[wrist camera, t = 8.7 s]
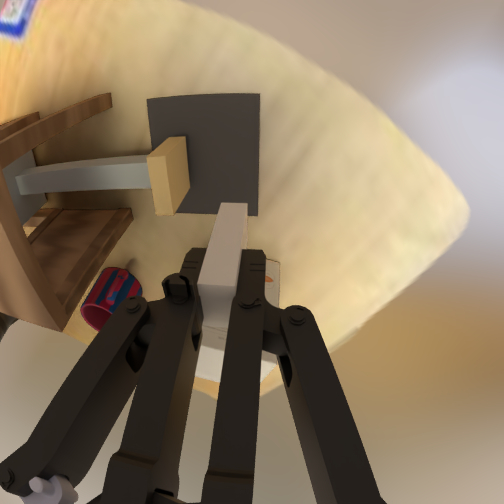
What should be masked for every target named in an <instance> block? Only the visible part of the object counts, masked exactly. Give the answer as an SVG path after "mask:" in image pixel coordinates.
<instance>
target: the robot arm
mask: <svg viewBox="0 0 504 504" xmlns="http://www.w3.org/2000/svg"><path fill="white" fill-rule="evenodd" d="M247 242H248V232H247V203H221V205H220V208H219V211H218V214H217V218H216V221H215V224H214V227H213V231H212V234H211V237H210V241H209V244H208V247H207V248H192V249H191V250H190V251H189V252H188V253H187V254H186V256H185V259H184V262H183V264H182V268H181V270H180V272H179V273H174V274H172V275H169V276H167V277H166V278H165V279H164V280H163V281H162V286H163V290H164V294H165V298H163V299H160V300H156V301H150V302H147V301H146V299H145V298H143V297H142V296H137V295H134V296H130V297H128V298H126V299H124V300H123V301H122V302H121V303H120V305H119V306H118V307H117V309H116V310H115V311H114V312H113V314H112V315H111V316H110V318H109V319H108V320H107V322H106V323H105V324H104V326H103V327H102V328H101V330H100V331H99V333H98V334H97V335H96V337H95V338H94V339H93V341H92V342H91V344H90V345H89V346H88V348H87V349H86V351H85V352H84V354H83V355H82V356H81V358H80V359H79V361H78V362H77V363H76V365H75V366H74V368H73V370H72V371H71V372H70V374H69V375H68V377H67V378H66V380H65V381H64V383H63V384H62V386H61V387H60V389H59V390H58V392H57V393H56V395H55V396H54V398H53V400H52V401H51V403H50V404H49V406H48V407H47V409H46V411H45V412H44V414H43V416H42V417H41V419H40V420H39V422H38V424H37V425H36V427H35V429H34V431H33V432H32V434H31V436H30V437H29V439H28V441H27V442H26V443H25V444H23V445H22V446H21V447H20V448H19V449H17V450H16V451H15V452H14V453H13V454H11V455H10V456H9V457H7V458H6V459H5V460H4V461H2V462H1V463H0V485H1V487H2V488H3V489H4V490H5V491H7V492H9V493H12V494H15V495H18V496H20V497H21V499H22V500H23V502H24V504H74V502H76V501H77V500H78V494H77V492H76V491H75V490H74V488H75V487H76V486H77V485H78V484H79V483H80V482H81V481H82V479H83V478H84V477H85V476H86V474H87V472H88V471H89V469H90V468H91V466H92V463H93V462H94V460H95V458H96V456H97V455H98V453H99V451H100V449H101V447H102V445H103V444H104V442H105V440H106V438H107V436H108V435H109V433H110V431H111V429H112V427H113V426H114V424H115V422H116V420H117V419H118V417H119V415H120V413H121V411H122V410H123V408H124V406H125V404H126V403H127V401H128V399H129V397H130V396H131V394H132V392H133V390H134V389H135V387H136V390H135V393H134V397H133V400H132V404H131V408H130V412H129V415H128V419H127V423H126V426H125V430H124V434H123V438H122V442H121V446H120V449H119V450H118V451H117V452H116V453H114V454H113V455H112V457H111V458H110V461H109V464H108V468H107V472H106V477H105V482H104V487H103V492H102V493H101V494H100V495H98V496H97V497H95V498H94V499H93V500H91V501H90V502H88V503H87V504H252V498H253V485H254V468H255V455H256V441H257V426H258V410H259V394H260V377H261V359H262V350H263V351H266V352H269V353H272V354H275V355H276V357H277V360H278V364H279V368H280V371H281V375H282V379H283V382H284V386H285V389H286V393H287V397H288V400H289V404H290V408H291V411H292V415H293V419H294V422H295V426H296V429H297V433H298V436H299V440H300V444H301V448H302V451H303V455H304V458H305V462H306V466H307V469H308V473H309V476H310V480H311V483H312V487H313V491H314V494H315V498H316V502H317V504H387V503H386V502H385V501H384V500H383V499H382V498H381V497H380V493H379V491H378V487H377V484H376V481H375V478H374V475H373V472H372V470H371V467H370V464H369V461H368V458H367V455H366V452H365V449H364V447H363V444H362V441H361V438H360V435H359V433H358V430H357V427H356V424H355V422H354V419H353V416H352V413H351V411H350V408H349V405H348V403H347V400H346V397H345V395H344V392H343V390H342V387H341V384H340V382H339V379H338V377H337V374H336V371H335V369H334V366H333V363H332V361H331V358H330V356H329V353H328V351H327V348H326V346H325V343H324V341H323V338H322V336H321V333H320V331H319V328H318V326H317V323H316V321H315V318H314V316H313V314H312V313H311V311H310V310H309V309H307V308H306V307H303V306H300V305H292V306H289V307H287V308H286V309H280V308H277V307H275V306H273V305H271V304H270V303H269V302H268V301H267V299H266V297H265V275H266V256H265V254H264V252H263V250H252V249H247ZM17 320H18V318H15V317H12V316H9V315H7V314H4V313H1V312H0V342H1V340H2V338H3V336H4V334H5V333H6V331H7V329H8V328H9V327H10V326H11V325H12V324H13V323H14V322H16V321H17ZM203 320H204V325H205V326H213V327H226V328H228V331H227V338H226V344H225V351H224V358H223V365H222V372H221V379H220V386H219V393H218V400H217V407H216V415H215V422H214V429H213V436H212V444H211V451H210V459H209V466H208V470H207V472H206V474H205V478H204V483H203V489H202V498H201V502H200V503H186V502H183V501H181V500H179V499H177V496H178V490H179V475H178V468H179V462H180V456H181V450H182V444H183V438H184V432H185V426H186V421H187V415H188V409H189V404H190V399H191V393H192V388H193V383H194V377H195V372H196V367H197V362H198V357H199V352H200V347H201V342H202V337H203V332H202V324H203ZM136 385H137V386H136Z"/></svg>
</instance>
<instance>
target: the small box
mask: <svg viewBox="0 0 504 504" xmlns="http://www.w3.org/2000/svg"><path fill="white" fill-rule="evenodd" d="M279 293H280V263H278V262H274V261H271V260H267V259H266V275H265V297H266V299H267V301H268V302H269V303H270V304H271V305H273V306H275V307H277V308H279ZM227 331H228V328H226V327H213V326H205V325H204V320H203V324H202V332H203V337H202V342H201V347H200V352H199V357H198V362H197V367H196V372H195V376H196V377H200V378H204V379H208V380H212V381H216V382H220V379H221V372H222V365H223V358H224V351H225V344H226V338H227ZM276 365H277V357H276V355H275V354H272V353H269V352H266V351H263V350H262V359H261V377H260V383H261V382H262V381H263V379H264V378H265V377H266V376H267V375H268V374H269V373H270V372H271V371H272V370H273V368H274V367H275V366H276Z"/></svg>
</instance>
